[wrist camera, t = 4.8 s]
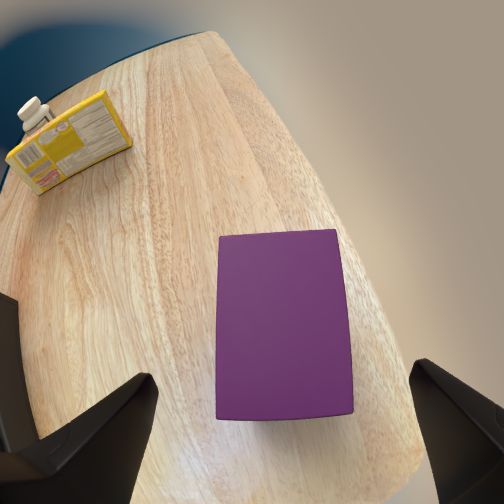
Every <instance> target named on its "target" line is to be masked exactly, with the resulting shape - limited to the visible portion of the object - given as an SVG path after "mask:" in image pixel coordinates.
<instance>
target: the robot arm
mask: <svg viewBox="0 0 504 504" xmlns="http://www.w3.org/2000/svg"><path fill="white" fill-rule="evenodd" d="M409 385H410V389H411V393H412V398H413V402H414V407H415V412H416V416H417V420H418V423H419V427H420V430H421V433H422V436H423V440H424V443H425V446H426V450H427V453H428V457H429V460H430V465H431V469H432V473H433V477H434V481H435V485H436V489H437V494H438V499H439V504H504V409H503V408H502V407H500V406H499V405H497V404H495V403H494V402H493V401H491V400H490V399H488V398H486V397H485V396H483V395H482V394H480V393H479V392H477V391H476V390H474V389H473V388H471V387H470V386H468V385H467V384H465V383H463V382H462V381H461V380H459V379H458V378H456V377H454V376H453V375H451V374H450V373H448V372H447V371H445V370H444V369H442V368H440V367H439V366H438V365H436V364H434V363H433V362H431V361H430V360H428V359H426V358H424V359H420V360H416V361H415V362H414V365H413V368H412V371H411V373H410V376H409ZM158 394H159V392H158V388H157V385H156V383H155V381H154V379H153V376H152V375H151V374H149V373H142V372H141V373H138V374H137V375H136V376H134V377H133V378H131V379H130V380H129V381H127V382H126V383H125V384H123V385H122V386H120V387H119V388H118V389H116V390H115V391H113V392H112V393H111V394H109V395H108V396H106V397H105V398H104V399H102V400H101V401H99V402H98V403H96V404H95V405H94V406H92V407H91V408H89V409H88V410H86V411H85V412H84V413H82V414H81V415H79V416H78V417H76V418H75V419H73V420H72V421H71V422H70V423H67V424H66V425H65V426H63V427H62V428H60V429H58V430H57V431H55V432H54V433H52V434H50V435H48V436H47V437H45V438H43V439H41V440H39V441H37V442H35V443H33V444H31V445H29V446H27V447H25V448H23V449H21V450H19V451H16V452H0V504H130V500H131V497H132V493H133V489H134V486H135V482H136V479H137V476H138V472H139V469H140V466H141V462H142V459H143V456H144V452H145V449H146V446H147V443H148V440H149V436H150V433H151V430H152V425H153V420H154V415H155V410H156V405H157V400H158Z"/></svg>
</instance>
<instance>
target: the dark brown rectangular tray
mask: <svg viewBox="0 0 504 504" xmlns="http://www.w3.org/2000/svg"><path fill="white" fill-rule="evenodd" d="M37 441H39V437H38V434H37V431H36V427H35V424H34V420H33V416H32V412H31V408H30V404H29V399H28V395H27V390H26V384H25V379H24V373H23V366H22V358H21V350H20V339H19V325H18V301H17V300H15V299H13V298H10V297H8V296H6V295H4V294H2V293H0V452H16V451H19V450H21V449H23V448H25V447H27V446H29V445H31V444H33V443H35V442H37Z"/></svg>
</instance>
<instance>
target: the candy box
mask: <svg viewBox="0 0 504 504" xmlns="http://www.w3.org/2000/svg"><path fill="white" fill-rule="evenodd" d="M131 146H132V138H131V136H130V135H129V133H128V131H127V129H126V128H125V126H124V124H123V122H122V120H121V119H120V117H119V115H118V113H117V111H116V109H115V108H114V106H113V104H112V102H111V100H110V98H109V96H108V94H107V92H106V90H105V89H104V90H102V91H100V92H98V93H97V94H95V95H93V96H91V97H89V98H87V99H86V100H84V101H82V102H80V103H79V104H77V105H75V106H74V107H72V108H70V109H69V110H67V111H66V112H64V113H62V114H61V115H59V116H58V117H56V118H55V119H53V120H52V121H50V122H49V123H47V124H46V125H45V126H43V127H42V128H40V129H39V130H38V131H36V132H35V133H33V134H32V135H31V136H29V137H28V138H27V139H25V140H24V141H23V142H22V143H20V144H19V145H18V146H17V147H15V148H14V149H13V150H12V151H11V152H9V154H8V155H7V157H6V160H5V161H6V162H7V163H8V164H9V165H10V166H11V167H12V169H13V170H14V171H15V172H16V173H17V174H18V175H19V176H20V177H21V178H22V179H23V181H24V182H25V183H26V184H27V185H28V186H29V187H30V188H31V189H32V190H33V191H34V192H35V193H36V194H37V195H38V196H39V195H41V194H42V193H44V192H45V191H47V190H49V189H50V188H52V187H53V186H55V185H57V184H58V183H60V182H62V181H63V180H65V179H67V178H69V177H70V176H72V175H74V174H76V173H77V172H79V171H81V170H83V169H85V168H87V167H89V166H91V165H93V164H95V163H97V162H99V161H101V160H103V159H105V158H107V157H109V156H111V155H113V154H115V153H117V152H119V151H121V150H124V149H126V148H128V147H131Z"/></svg>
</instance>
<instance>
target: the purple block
mask: <svg viewBox="0 0 504 504" xmlns="http://www.w3.org/2000/svg"><path fill="white" fill-rule="evenodd" d="M353 412H354V405H353V375H352V357H351V343H350V331H349V320H348V310H347V301H346V293H345V285H344V277H343V270H342V263H341V256H340V250H339V244H338V238H337V232H336V229H324V230H306V231H289V232H273V233H258V234H243V235H229V236H220V237H219V251H218V276H217V308H216V419H218V420H235V421H279V420H299V419H312V418H323V417H332V416H340V415H347V414H352V413H353Z"/></svg>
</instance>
